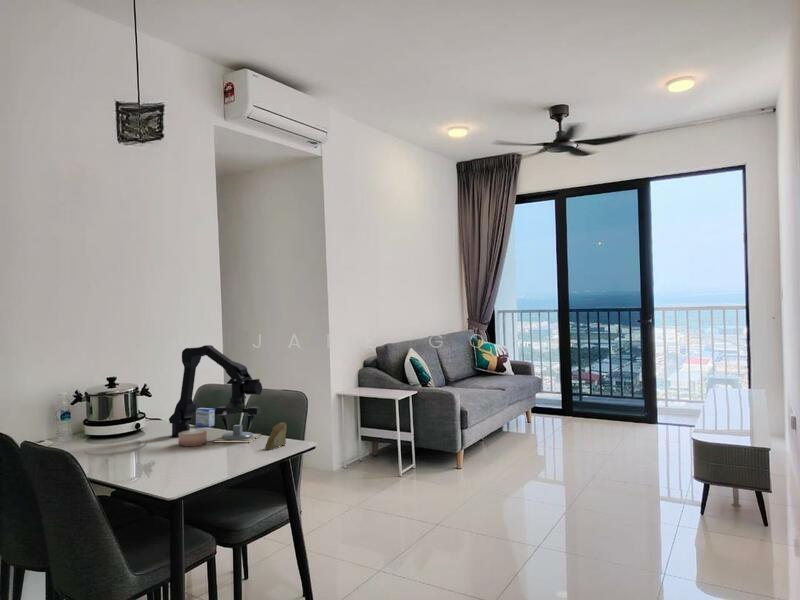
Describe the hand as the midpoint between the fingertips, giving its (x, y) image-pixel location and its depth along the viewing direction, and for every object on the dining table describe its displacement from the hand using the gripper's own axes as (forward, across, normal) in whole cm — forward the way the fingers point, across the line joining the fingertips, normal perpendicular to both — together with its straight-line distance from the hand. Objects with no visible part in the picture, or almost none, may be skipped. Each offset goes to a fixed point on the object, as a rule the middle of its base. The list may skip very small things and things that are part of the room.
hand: (237, 430), depth 233 cm
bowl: (+4, -15, -11) cm, 19 cm away
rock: (+4, +21, -14) cm, 26 cm away
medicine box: (+4, -29, +31) cm, 43 cm away
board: (+4, 0, 0) cm, 4 cm away
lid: (+3, 0, 0) cm, 3 cm away
